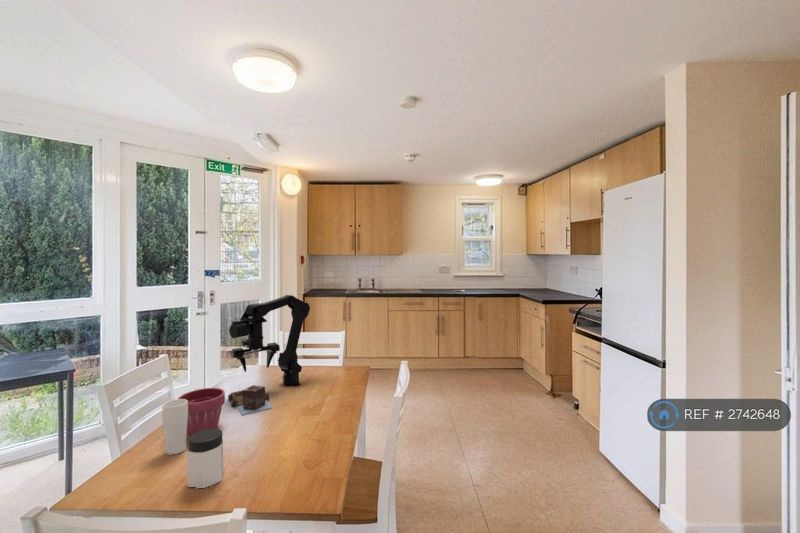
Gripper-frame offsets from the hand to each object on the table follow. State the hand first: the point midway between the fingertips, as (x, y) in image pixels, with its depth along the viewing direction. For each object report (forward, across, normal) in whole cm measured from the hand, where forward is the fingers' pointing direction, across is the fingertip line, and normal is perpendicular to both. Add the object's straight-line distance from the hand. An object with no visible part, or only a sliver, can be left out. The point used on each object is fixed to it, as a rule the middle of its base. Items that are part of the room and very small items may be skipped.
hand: (256, 369), depth 157 cm
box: (+11, +4, +14) cm, 18 cm away
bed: (+12, +4, +3) cm, 13 cm away
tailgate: (+11, +4, +14) cm, 18 cm away
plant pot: (+12, +24, +22) cm, 35 cm away
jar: (+11, +26, +54) cm, 62 cm away
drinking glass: (+11, +32, +32) cm, 47 cm away
